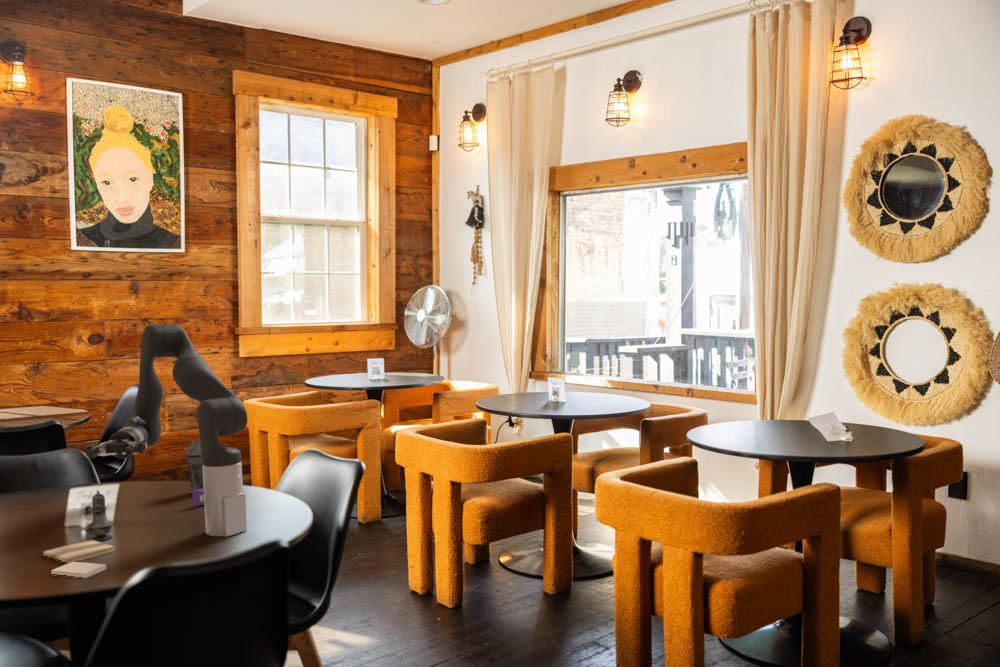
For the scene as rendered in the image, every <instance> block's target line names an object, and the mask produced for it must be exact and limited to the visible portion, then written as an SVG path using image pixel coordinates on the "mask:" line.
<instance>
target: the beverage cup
mask: <svg viewBox="0 0 1000 667" xmlns="http://www.w3.org/2000/svg"><path fill="white" fill-rule="evenodd" d="M198 439H199V440H194V441H192V442H191V443H190V444H188V446H187V448H186V451H185V460H186V462H187V466H188V467H187V468H188V473H189V480H190V488H191V491H192V490H199V489H204V487H203V466H202V465H203V464H202V455H201V449H200V437H199V438H198Z"/></svg>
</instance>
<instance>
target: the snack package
mask: <svg viewBox="0 0 1000 667" xmlns="http://www.w3.org/2000/svg"><path fill="white" fill-rule="evenodd" d="M191 493H192V494H191V495H192V508H197V507H199V506H201V505H202V506H203V505H204V489H199V490H192V489H191ZM196 506H197V507H196Z"/></svg>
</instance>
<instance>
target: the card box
mask: <svg viewBox="0 0 1000 667" xmlns="http://www.w3.org/2000/svg"><path fill="white" fill-rule="evenodd" d="M104 570H105V571H106V570H107V564H104V563H95V562H80V561H77V562H70V563H68V564H67V563H65V564H64V565H61V566H58V567H56V568H54V569H51V574H58V575H67V576H66V577H68V576H75V577H74V578H79V577H82V578H81V579H87V578H89V577H91V576H94V575H96V574H98V573H100V572H103V571H104Z"/></svg>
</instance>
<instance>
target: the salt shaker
mask: <svg viewBox="0 0 1000 667" xmlns="http://www.w3.org/2000/svg"><path fill="white" fill-rule="evenodd" d="M91 500H92V502H91V503H92V506H91V507H92V509H90V511H91V513H92V520H91V523H89V524H87V525H86V528H87V530H88V533H89V534H90V535H92V537H90V538H89V539H88V540H94V541H97V542H101V543H103V542H106V541H109V540H112V539H113V538H114V537H113V536H112V535H110V534H109V533H110V531H111V530H112V528H113V524H114V522H113V521H111V520H110V521H109V520H108V518H107V510H108V507H107V506H106V497H105V495H104V494H101V493H100V491H99V490H97V491H96V494H94V495H93V496H92V498H91Z"/></svg>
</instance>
